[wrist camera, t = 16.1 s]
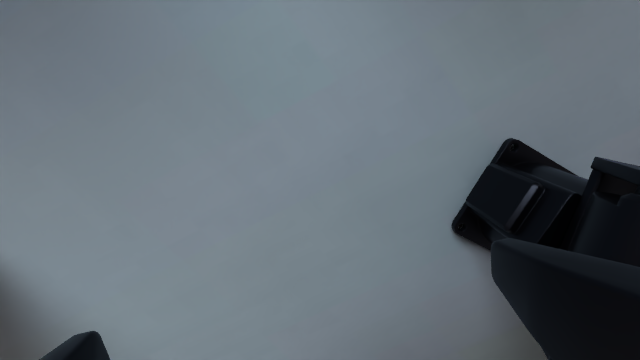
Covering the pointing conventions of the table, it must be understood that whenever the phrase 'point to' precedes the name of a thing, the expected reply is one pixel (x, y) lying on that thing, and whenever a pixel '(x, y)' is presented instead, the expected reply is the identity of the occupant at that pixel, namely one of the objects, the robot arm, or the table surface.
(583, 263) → the robot arm
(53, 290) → the table surface
